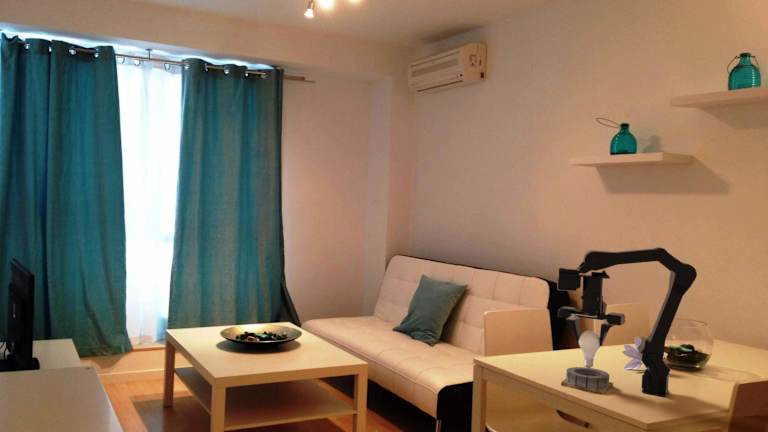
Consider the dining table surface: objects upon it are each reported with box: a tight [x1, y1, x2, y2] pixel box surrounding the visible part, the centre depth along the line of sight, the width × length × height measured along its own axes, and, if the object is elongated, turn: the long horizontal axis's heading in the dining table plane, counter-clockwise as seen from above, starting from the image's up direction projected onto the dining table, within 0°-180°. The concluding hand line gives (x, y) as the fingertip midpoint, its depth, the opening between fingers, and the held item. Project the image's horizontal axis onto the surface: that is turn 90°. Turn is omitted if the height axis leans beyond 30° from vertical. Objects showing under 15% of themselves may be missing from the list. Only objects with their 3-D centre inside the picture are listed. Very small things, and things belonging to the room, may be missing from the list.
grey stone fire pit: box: [560, 366, 614, 394], centre depth 199 cm, size 12×12×4 cm
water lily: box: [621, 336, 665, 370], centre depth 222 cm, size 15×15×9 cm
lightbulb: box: [578, 330, 601, 368], centre depth 198 cm, size 6×6×11 cm
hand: (589, 344), depth 198 cm, fingers closed on lightbulb, 6 cm apart
